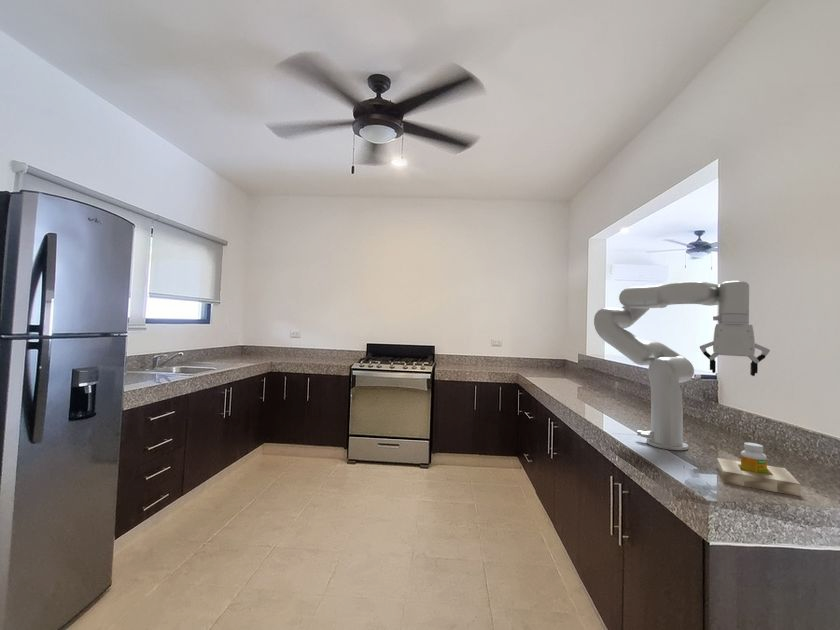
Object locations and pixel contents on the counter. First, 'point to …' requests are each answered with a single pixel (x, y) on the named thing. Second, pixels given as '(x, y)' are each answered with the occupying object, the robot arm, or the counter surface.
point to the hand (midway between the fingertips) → (732, 374)
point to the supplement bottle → (753, 459)
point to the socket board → (758, 477)
